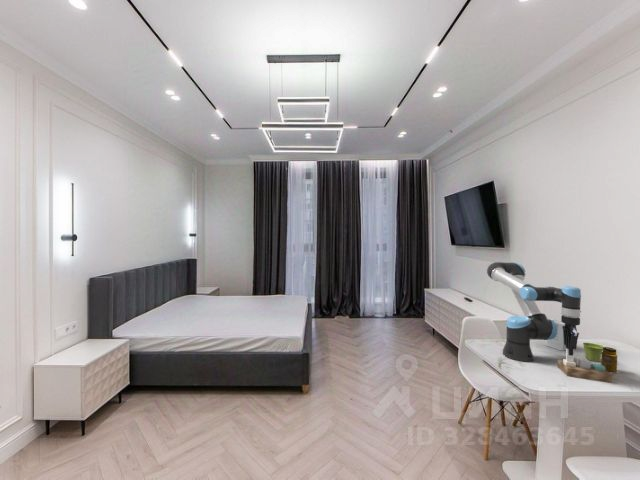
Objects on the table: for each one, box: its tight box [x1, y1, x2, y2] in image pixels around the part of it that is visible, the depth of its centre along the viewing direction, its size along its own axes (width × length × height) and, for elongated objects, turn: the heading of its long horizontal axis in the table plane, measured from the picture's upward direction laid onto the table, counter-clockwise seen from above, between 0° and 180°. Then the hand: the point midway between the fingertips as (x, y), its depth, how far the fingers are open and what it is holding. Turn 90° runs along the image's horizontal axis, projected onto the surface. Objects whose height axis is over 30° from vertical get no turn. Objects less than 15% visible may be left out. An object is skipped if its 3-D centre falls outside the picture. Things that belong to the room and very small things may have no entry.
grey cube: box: [576, 357, 591, 369], centre depth 152 cm, size 4×4×4 cm
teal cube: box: [590, 362, 605, 371], centre depth 150 cm, size 4×4×4 cm
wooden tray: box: [557, 359, 613, 384], centre depth 152 cm, size 18×12×4 cm, turn 70°
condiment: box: [600, 346, 622, 375], centre depth 158 cm, size 7×8×12 cm
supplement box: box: [546, 319, 566, 352], centre depth 192 cm, size 10×9×17 cm
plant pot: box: [581, 342, 604, 363], centre depth 172 cm, size 9×9×9 cm
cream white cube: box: [562, 358, 576, 367], centre depth 155 cm, size 4×4×4 cm
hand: (569, 360), depth 154 cm, fingers closed
